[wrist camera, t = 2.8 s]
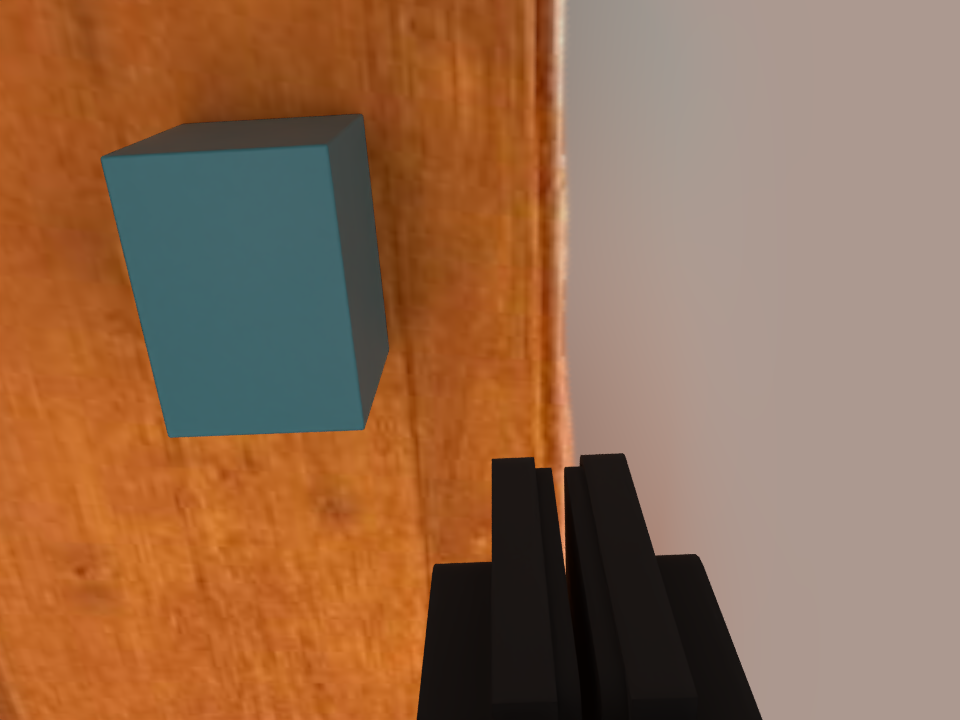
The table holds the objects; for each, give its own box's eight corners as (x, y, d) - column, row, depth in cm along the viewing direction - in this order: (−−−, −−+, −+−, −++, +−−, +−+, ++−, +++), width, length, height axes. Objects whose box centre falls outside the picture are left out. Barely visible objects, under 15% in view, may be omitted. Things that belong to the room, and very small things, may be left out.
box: (363, 113, 22) (327, 144, 17) (389, 350, 25) (364, 431, 20) (180, 123, 22) (98, 156, 18) (228, 358, 25) (167, 438, 20)
